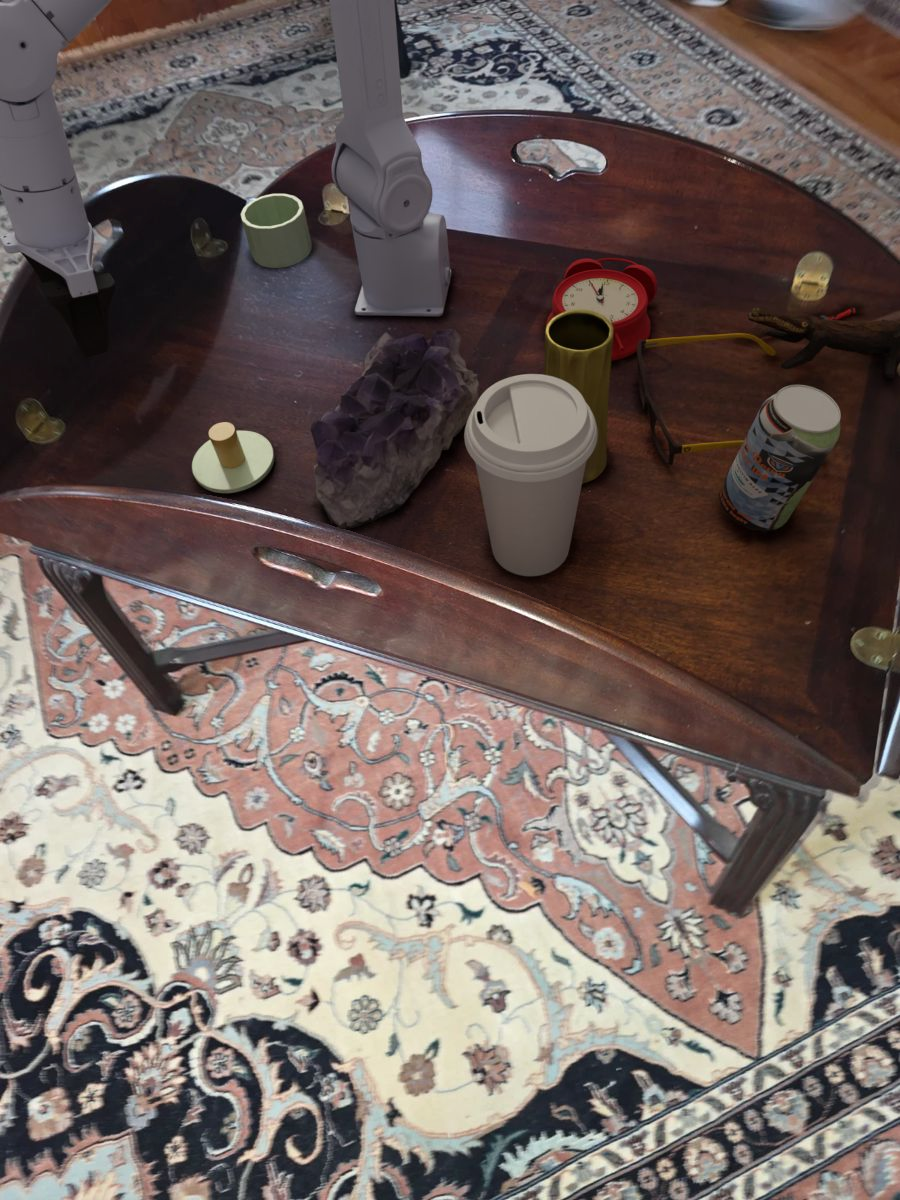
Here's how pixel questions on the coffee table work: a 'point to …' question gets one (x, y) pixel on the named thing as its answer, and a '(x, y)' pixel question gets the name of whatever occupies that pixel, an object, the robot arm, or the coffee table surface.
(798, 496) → the beverage can
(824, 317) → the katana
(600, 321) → the vase
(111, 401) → the coffee table surface
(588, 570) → the coffee table surface
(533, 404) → the coffee cup
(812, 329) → the toy
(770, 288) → the coffee table surface
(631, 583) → the coffee table surface
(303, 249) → the tin
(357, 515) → the geode
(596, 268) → the alarm clock
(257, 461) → the lid
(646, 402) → the eyeglasses
